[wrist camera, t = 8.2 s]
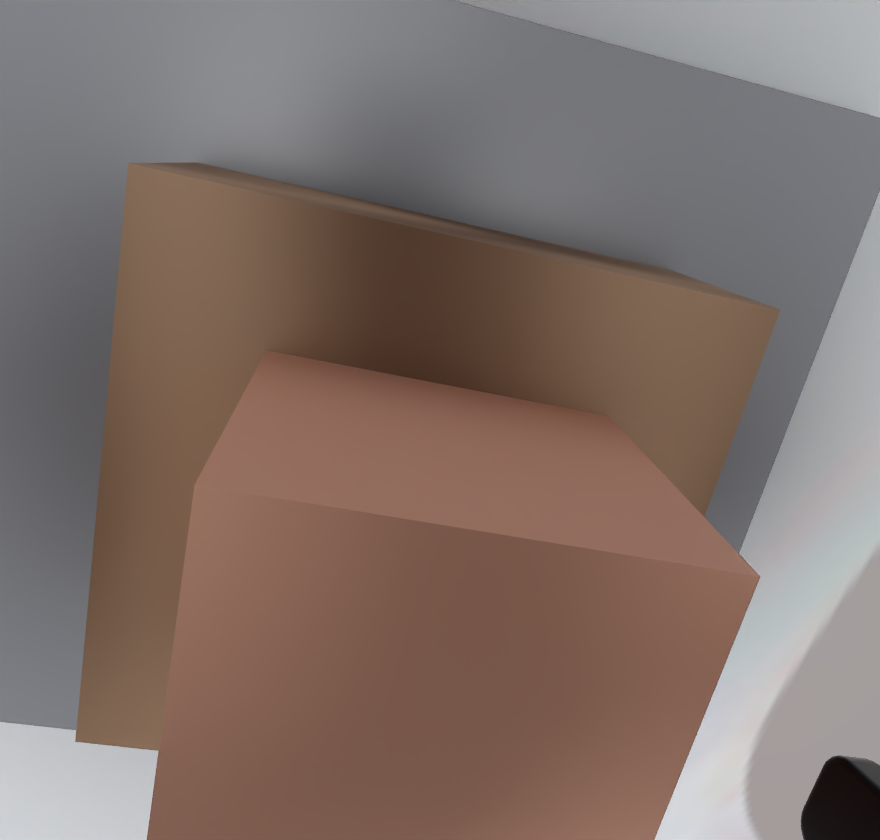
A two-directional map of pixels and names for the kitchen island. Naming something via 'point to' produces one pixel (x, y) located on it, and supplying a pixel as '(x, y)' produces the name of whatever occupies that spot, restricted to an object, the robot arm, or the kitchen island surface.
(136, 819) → the kitchen island surface
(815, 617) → the kitchen island surface
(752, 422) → the baseplate
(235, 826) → the terracotta block
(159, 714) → the walnut brick
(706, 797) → the kitchen island surface
